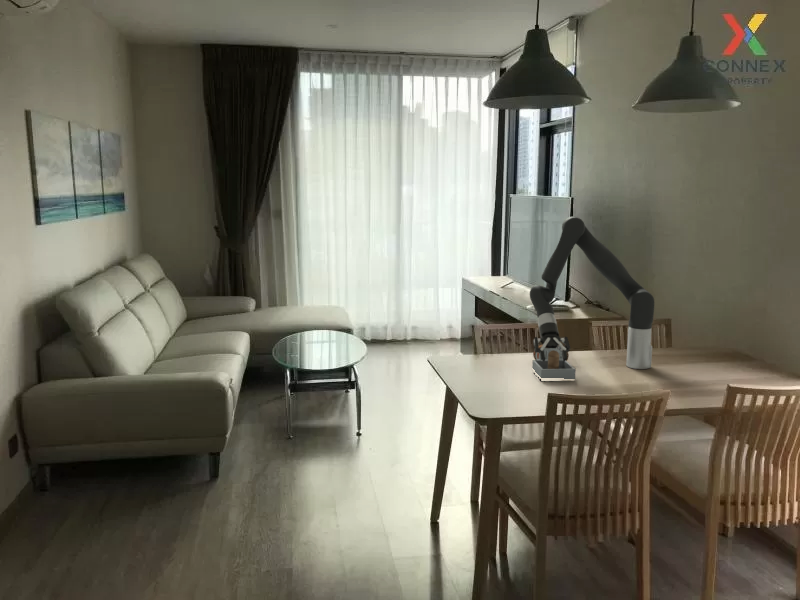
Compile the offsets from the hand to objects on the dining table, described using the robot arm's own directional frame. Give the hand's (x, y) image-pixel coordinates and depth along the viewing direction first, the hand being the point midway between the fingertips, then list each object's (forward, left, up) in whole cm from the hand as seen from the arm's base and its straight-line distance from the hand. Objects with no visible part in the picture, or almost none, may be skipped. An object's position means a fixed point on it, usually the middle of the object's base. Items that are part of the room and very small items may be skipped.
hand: (554, 360), depth 256 cm
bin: (0, -1, -7) cm, 7 cm away
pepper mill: (0, -1, -6) cm, 6 cm away
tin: (-4, -20, -7) cm, 21 cm away
